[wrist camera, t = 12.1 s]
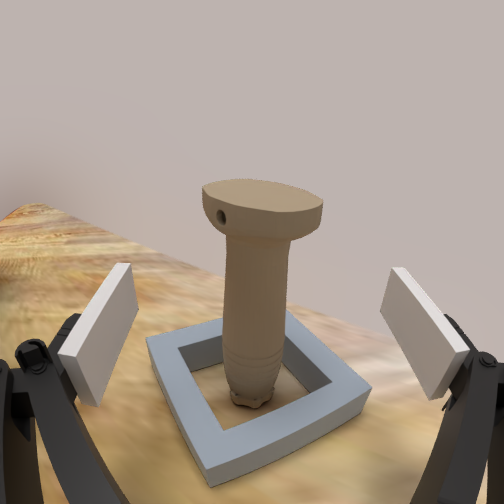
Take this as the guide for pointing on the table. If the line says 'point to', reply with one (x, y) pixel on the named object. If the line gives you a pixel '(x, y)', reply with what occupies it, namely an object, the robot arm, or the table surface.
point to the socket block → (266, 426)
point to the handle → (257, 275)
